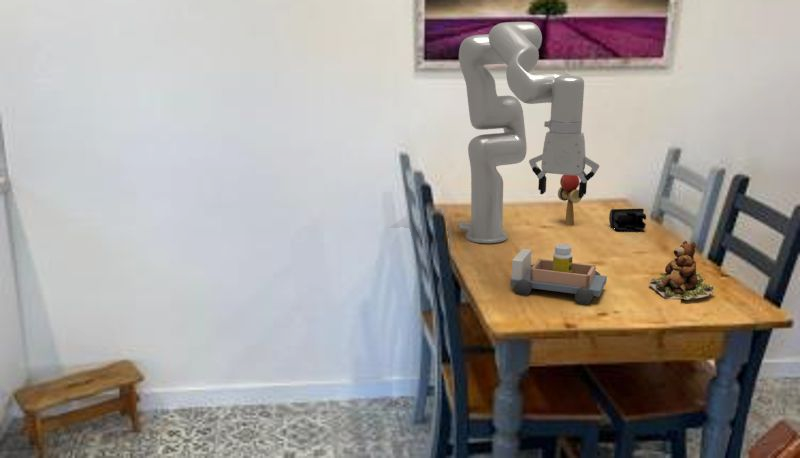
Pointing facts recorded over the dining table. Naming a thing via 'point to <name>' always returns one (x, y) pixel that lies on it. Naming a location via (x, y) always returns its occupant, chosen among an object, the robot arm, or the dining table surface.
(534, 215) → the dining table surface
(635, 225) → the end cap
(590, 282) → the toy truck
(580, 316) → the dining table surface
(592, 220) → the dining table surface
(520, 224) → the dining table surface
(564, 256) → the supplement bottle
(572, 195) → the kendama
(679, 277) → the bear figurine
